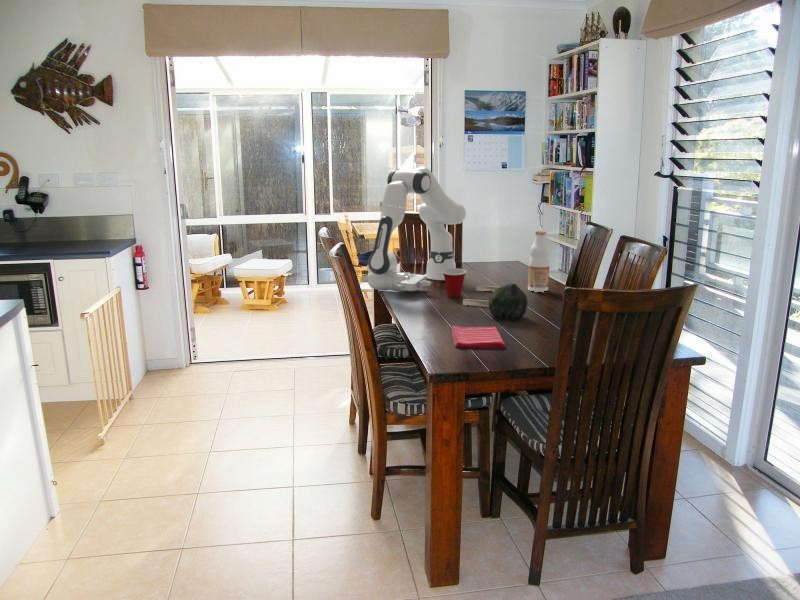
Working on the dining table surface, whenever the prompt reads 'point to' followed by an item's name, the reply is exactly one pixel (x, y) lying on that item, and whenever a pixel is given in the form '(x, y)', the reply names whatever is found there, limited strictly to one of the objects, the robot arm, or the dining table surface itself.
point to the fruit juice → (539, 264)
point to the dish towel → (477, 337)
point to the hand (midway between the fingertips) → (430, 283)
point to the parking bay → (480, 302)
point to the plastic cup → (454, 281)
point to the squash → (508, 302)
